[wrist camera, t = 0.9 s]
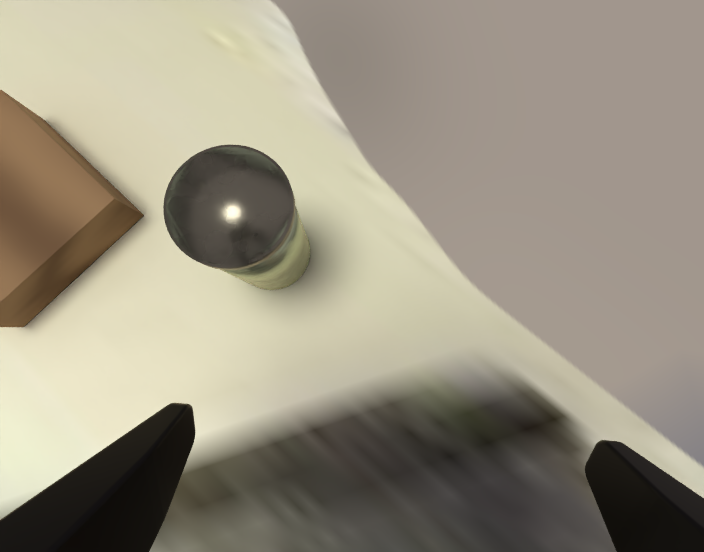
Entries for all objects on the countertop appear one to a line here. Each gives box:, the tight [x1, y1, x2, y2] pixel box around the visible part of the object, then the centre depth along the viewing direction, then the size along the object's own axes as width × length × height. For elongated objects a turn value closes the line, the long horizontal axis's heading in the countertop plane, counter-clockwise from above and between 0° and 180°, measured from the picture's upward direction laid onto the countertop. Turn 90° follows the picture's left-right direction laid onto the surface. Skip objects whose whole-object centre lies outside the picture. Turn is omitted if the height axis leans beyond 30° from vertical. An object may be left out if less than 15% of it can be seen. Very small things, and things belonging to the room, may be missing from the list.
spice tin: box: [164, 145, 310, 290], centre depth 18 cm, size 5×5×9 cm
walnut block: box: [0, 90, 144, 327], centre depth 21 cm, size 10×10×3 cm
